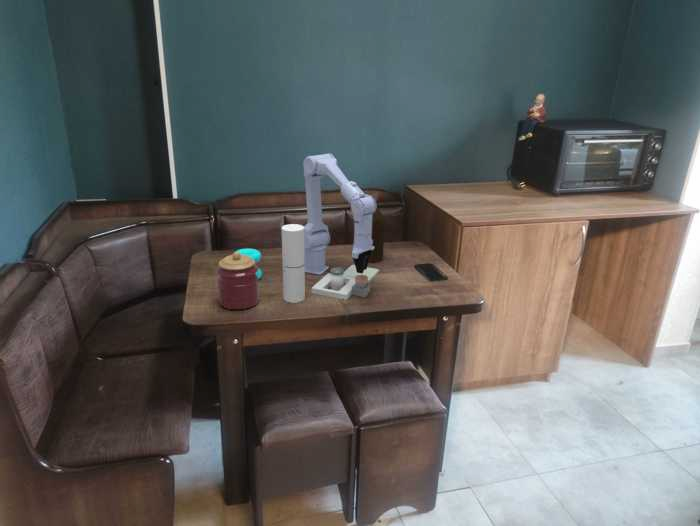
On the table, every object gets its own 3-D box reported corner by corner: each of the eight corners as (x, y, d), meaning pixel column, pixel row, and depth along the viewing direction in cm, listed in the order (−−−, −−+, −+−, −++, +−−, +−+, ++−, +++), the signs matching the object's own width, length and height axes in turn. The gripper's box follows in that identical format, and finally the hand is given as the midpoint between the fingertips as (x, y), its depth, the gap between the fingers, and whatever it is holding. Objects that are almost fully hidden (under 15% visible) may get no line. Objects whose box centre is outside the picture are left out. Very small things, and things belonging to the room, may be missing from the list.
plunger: (352, 290, 181) (353, 278, 179) (357, 285, 185) (357, 274, 183) (364, 293, 179) (365, 281, 178) (369, 288, 183) (369, 276, 182)
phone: (431, 262, 208) (448, 277, 195) (431, 265, 209) (448, 280, 195) (413, 264, 206) (429, 279, 193) (412, 267, 206) (429, 282, 193)
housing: (311, 293, 182) (311, 285, 181) (328, 278, 194) (328, 270, 193) (360, 303, 176) (360, 294, 175) (374, 286, 188) (374, 279, 187)
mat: (340, 277, 195) (340, 275, 194) (352, 267, 204) (352, 264, 204) (369, 282, 191) (369, 280, 191) (379, 271, 200) (379, 269, 200)
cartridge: (327, 290, 184) (328, 271, 182) (333, 285, 189) (333, 266, 186) (340, 292, 183) (340, 273, 180) (345, 287, 187) (346, 268, 184)
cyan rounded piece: (236, 259, 183) (229, 249, 191) (238, 285, 186) (230, 275, 195) (264, 255, 187) (256, 245, 195) (265, 280, 191) (257, 270, 199)
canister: (261, 308, 170) (259, 257, 164) (220, 313, 167) (216, 261, 160) (256, 291, 182) (254, 243, 175) (218, 295, 178) (214, 246, 172)
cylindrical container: (296, 305, 173) (295, 232, 164) (279, 299, 177) (277, 228, 167) (309, 297, 179) (308, 226, 170) (292, 291, 182) (290, 222, 173)
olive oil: (389, 258, 214) (392, 198, 204) (373, 265, 206) (376, 203, 196) (368, 251, 220) (370, 193, 210) (352, 259, 212) (353, 198, 203)
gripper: (366, 241, 167) (365, 281, 172) (381, 228, 179) (379, 265, 184) (345, 238, 169) (345, 277, 174) (362, 225, 182) (360, 262, 187)
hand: (361, 271), depth 179 cm, fingers open, 3 cm apart
